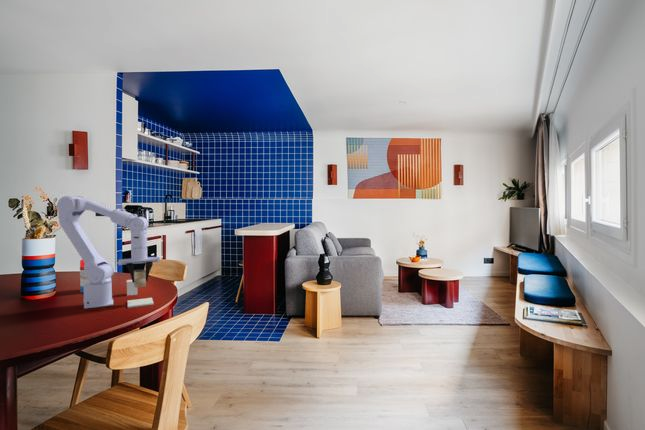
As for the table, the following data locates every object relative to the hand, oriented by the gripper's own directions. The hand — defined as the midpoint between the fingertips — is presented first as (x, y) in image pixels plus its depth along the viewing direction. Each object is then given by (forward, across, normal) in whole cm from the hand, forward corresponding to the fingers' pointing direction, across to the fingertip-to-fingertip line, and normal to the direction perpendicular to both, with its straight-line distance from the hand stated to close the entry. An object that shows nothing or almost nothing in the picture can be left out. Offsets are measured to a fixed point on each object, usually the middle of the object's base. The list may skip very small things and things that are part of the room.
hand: (139, 281), depth 144 cm
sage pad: (+9, 0, 0) cm, 9 cm away
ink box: (+9, +18, -34) cm, 39 cm away
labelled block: (+2, 0, 0) cm, 2 cm away
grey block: (+9, +2, -18) cm, 20 cm away
